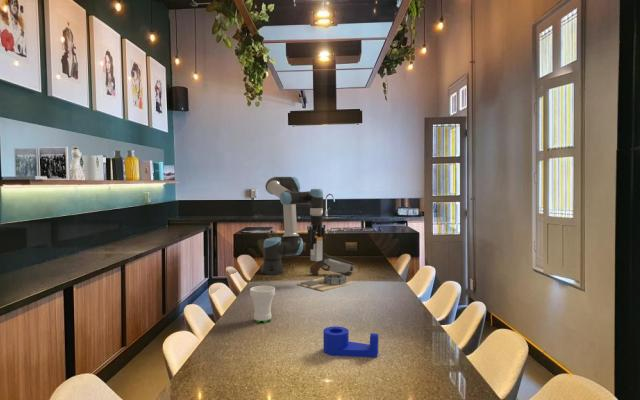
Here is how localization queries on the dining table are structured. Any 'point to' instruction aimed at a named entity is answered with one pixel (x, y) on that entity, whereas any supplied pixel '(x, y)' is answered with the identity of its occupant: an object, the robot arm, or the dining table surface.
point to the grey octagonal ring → (334, 279)
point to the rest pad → (311, 283)
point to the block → (317, 249)
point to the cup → (262, 302)
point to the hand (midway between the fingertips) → (316, 254)
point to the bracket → (347, 344)
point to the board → (324, 285)
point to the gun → (332, 265)
